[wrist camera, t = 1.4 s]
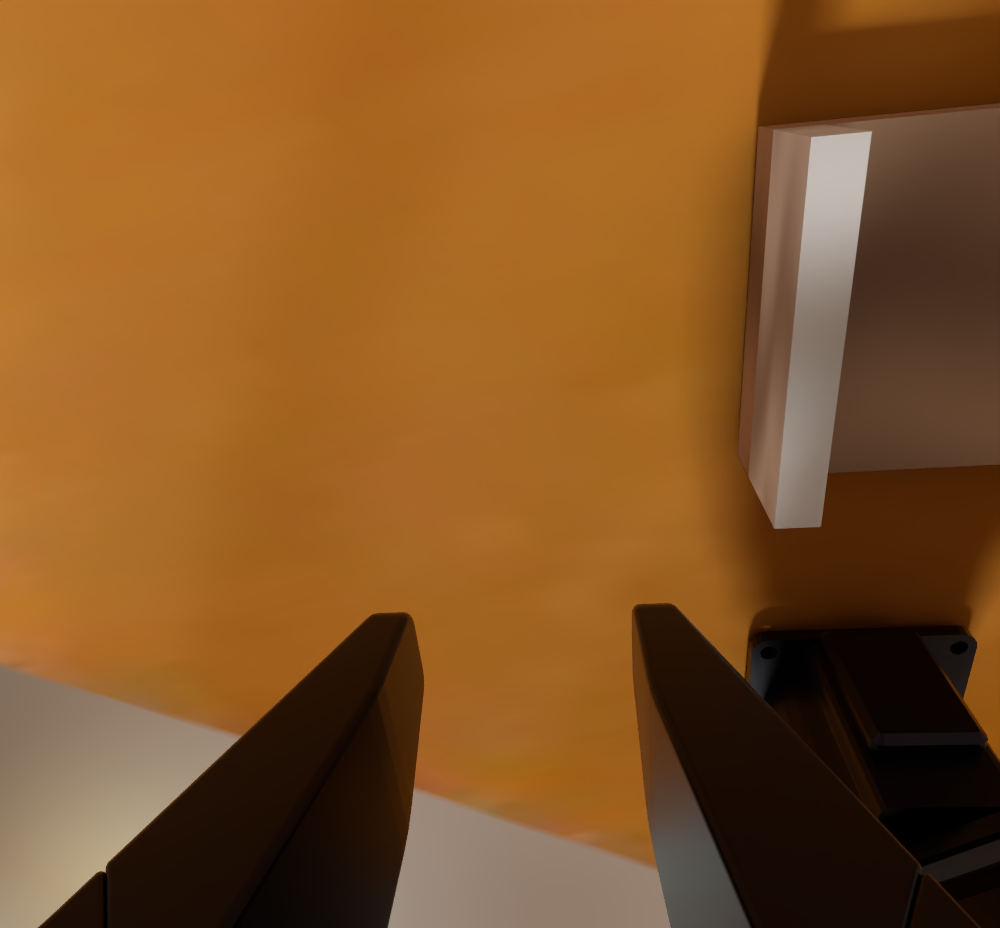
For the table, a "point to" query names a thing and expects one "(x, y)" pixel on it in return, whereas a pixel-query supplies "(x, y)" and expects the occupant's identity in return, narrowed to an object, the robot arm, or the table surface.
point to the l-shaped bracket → (871, 302)
